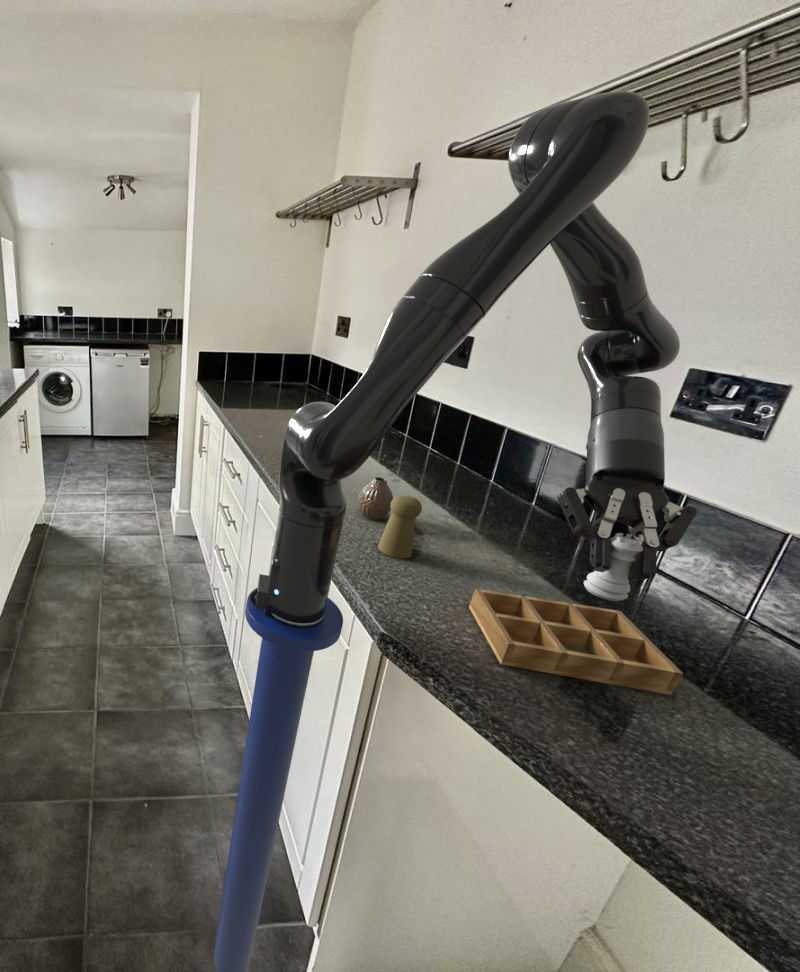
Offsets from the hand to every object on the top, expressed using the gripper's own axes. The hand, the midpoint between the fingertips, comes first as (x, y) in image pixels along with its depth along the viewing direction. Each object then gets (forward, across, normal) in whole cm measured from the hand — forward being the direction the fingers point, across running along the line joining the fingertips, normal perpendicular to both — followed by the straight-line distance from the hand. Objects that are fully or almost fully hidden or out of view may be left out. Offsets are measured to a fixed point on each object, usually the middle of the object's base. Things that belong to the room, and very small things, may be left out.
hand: (622, 573), depth 62 cm
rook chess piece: (+2, 0, +4) cm, 5 cm away
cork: (-6, -22, +29) cm, 37 cm away
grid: (+7, -1, +15) cm, 17 cm away
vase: (-17, -27, +39) cm, 50 cm away
